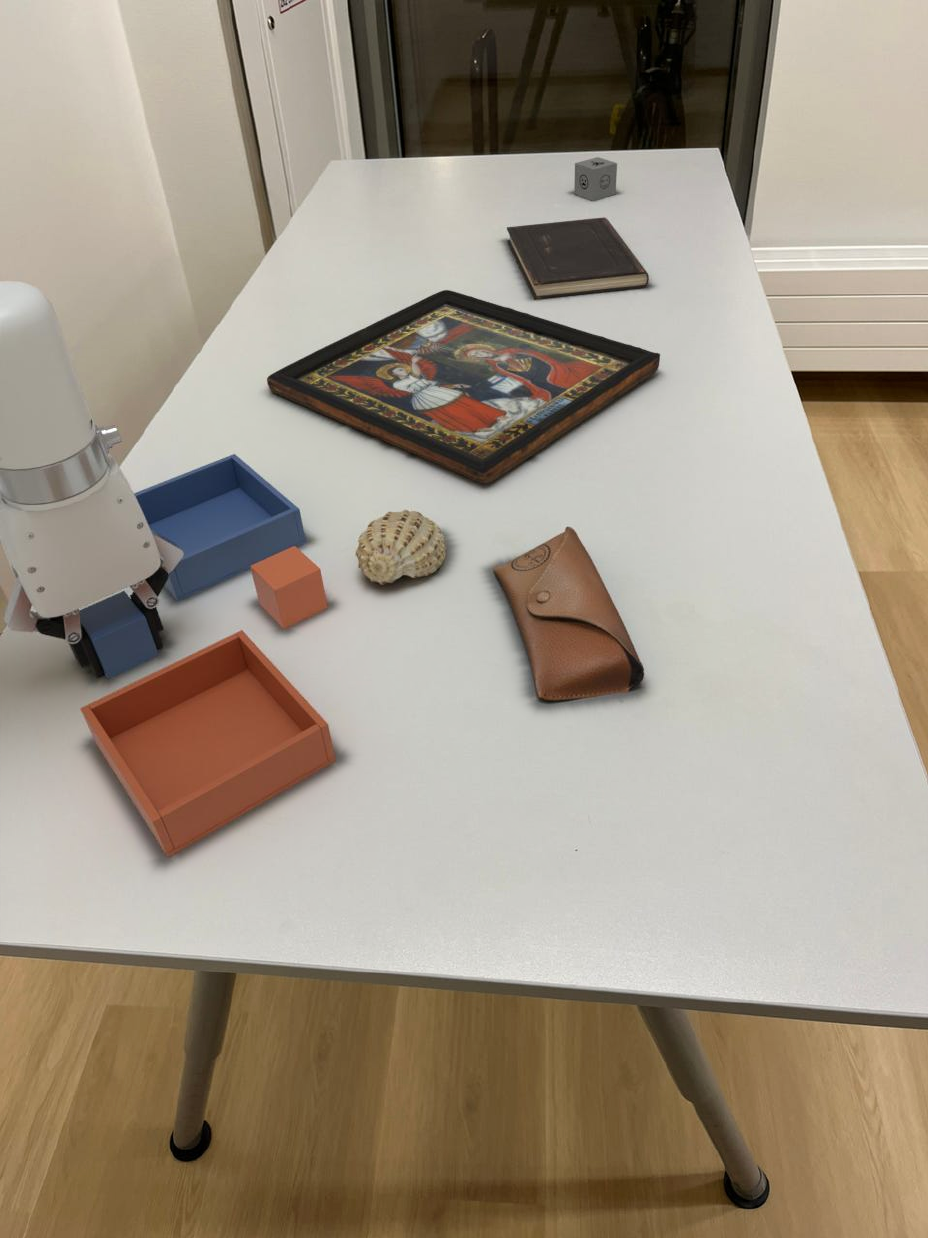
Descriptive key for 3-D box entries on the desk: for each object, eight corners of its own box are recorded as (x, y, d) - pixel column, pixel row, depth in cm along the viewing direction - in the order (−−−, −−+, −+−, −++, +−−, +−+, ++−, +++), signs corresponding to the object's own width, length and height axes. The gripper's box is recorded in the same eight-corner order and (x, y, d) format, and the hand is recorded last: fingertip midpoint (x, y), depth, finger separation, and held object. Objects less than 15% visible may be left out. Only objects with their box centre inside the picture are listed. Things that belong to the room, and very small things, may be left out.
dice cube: (592, 200, 161) (593, 169, 157) (574, 193, 164) (574, 162, 161) (615, 194, 163) (617, 162, 159) (596, 187, 166) (597, 156, 163)
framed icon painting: (243, 407, 111) (238, 384, 110) (425, 300, 132) (424, 280, 130) (514, 501, 94) (513, 476, 92) (675, 361, 114) (677, 338, 113)
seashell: (368, 566, 92) (353, 591, 82) (363, 504, 90) (347, 522, 80) (448, 563, 91) (443, 588, 82) (445, 501, 90) (439, 518, 80)
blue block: (109, 680, 77) (92, 640, 74) (89, 652, 80) (72, 612, 77) (159, 656, 79) (145, 616, 76) (138, 629, 82) (124, 590, 79)
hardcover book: (534, 299, 131) (534, 283, 129) (507, 242, 148) (506, 226, 147) (648, 287, 132) (649, 270, 130) (607, 231, 149) (608, 216, 148)
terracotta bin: (168, 858, 64) (152, 822, 61) (96, 744, 72) (79, 708, 69) (336, 761, 69) (328, 724, 67) (252, 666, 78) (241, 629, 75)
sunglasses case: (485, 564, 85) (521, 505, 82) (550, 584, 88) (587, 528, 85) (538, 705, 72) (584, 641, 68) (613, 723, 75) (660, 662, 72)
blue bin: (178, 602, 84) (166, 566, 82) (121, 536, 93) (109, 502, 90) (306, 543, 90) (299, 508, 88) (242, 486, 98) (234, 453, 96)
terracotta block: (283, 630, 81) (274, 590, 78) (259, 605, 84) (249, 565, 81) (328, 608, 83) (320, 568, 80) (303, 584, 85) (294, 545, 83)
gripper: (140, 406, 74) (197, 589, 85) (-87, 486, 66) (9, 675, 78) (181, 443, 69) (235, 631, 81) (-59, 534, 62) (38, 726, 73)
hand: (123, 651), depth 79 cm, fingers closed on blue block, 4 cm apart
